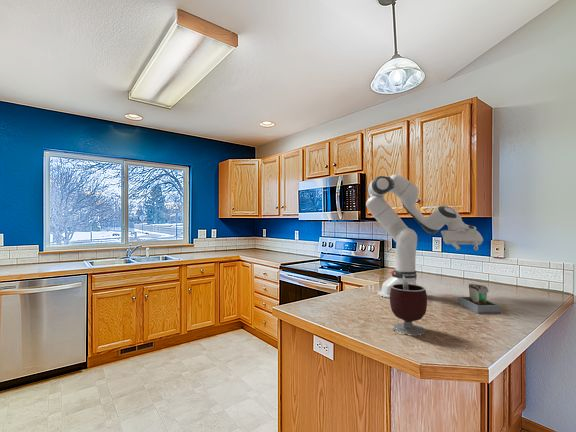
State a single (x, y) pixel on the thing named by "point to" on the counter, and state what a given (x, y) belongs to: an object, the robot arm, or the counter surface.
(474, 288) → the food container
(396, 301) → the mate gourd
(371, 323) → the counter surface
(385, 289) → the robot arm
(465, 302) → the tray
